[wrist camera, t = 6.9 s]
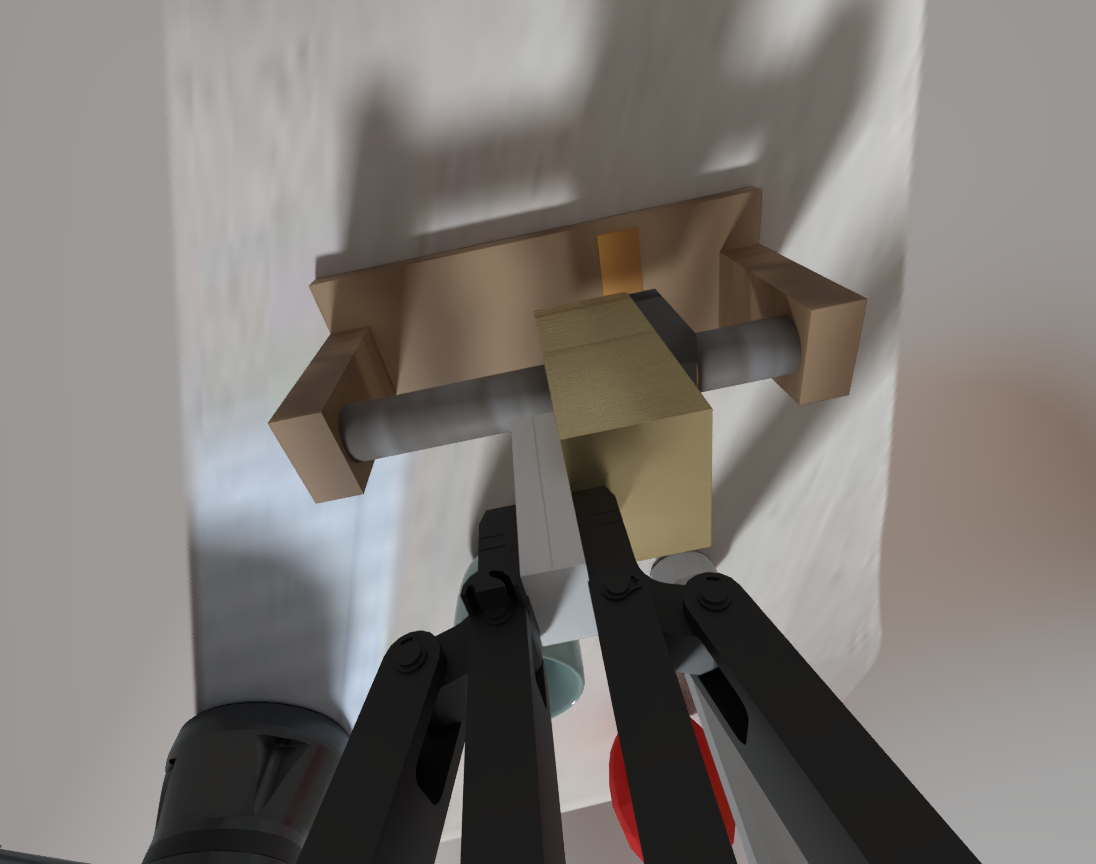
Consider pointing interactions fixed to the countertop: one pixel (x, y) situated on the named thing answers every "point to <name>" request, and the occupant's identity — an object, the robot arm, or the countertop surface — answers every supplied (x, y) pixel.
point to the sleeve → (630, 421)
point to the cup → (548, 662)
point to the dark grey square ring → (670, 329)
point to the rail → (512, 338)
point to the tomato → (623, 797)
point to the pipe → (733, 751)
